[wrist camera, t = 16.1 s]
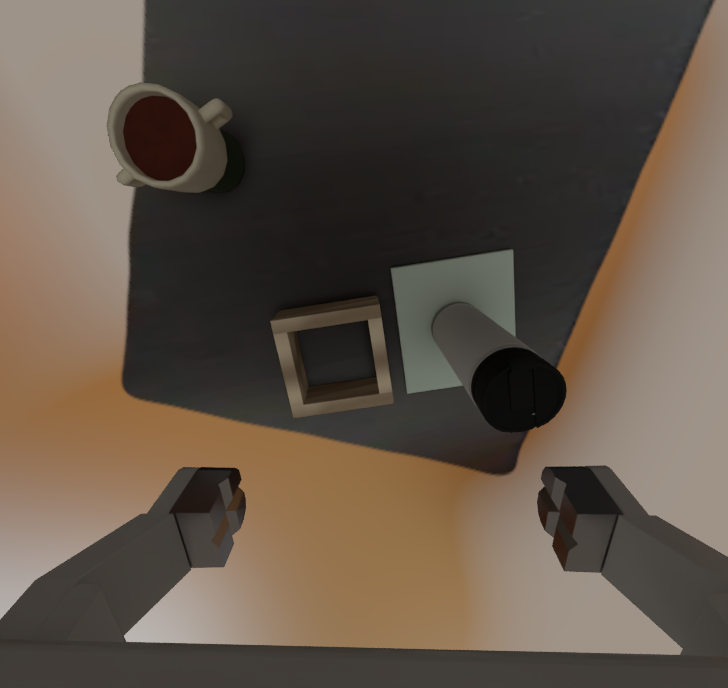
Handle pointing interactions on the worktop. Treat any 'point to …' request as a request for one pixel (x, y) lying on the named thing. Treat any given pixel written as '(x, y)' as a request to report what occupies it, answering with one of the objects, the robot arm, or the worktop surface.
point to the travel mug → (498, 369)
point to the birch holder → (334, 394)
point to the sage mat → (441, 287)
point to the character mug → (172, 141)
